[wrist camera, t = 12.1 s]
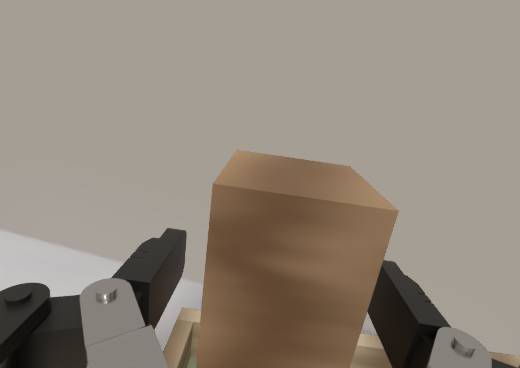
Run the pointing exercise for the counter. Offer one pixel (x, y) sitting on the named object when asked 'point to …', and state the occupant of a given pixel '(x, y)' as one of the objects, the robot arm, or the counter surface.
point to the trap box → (363, 364)
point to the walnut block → (289, 263)
